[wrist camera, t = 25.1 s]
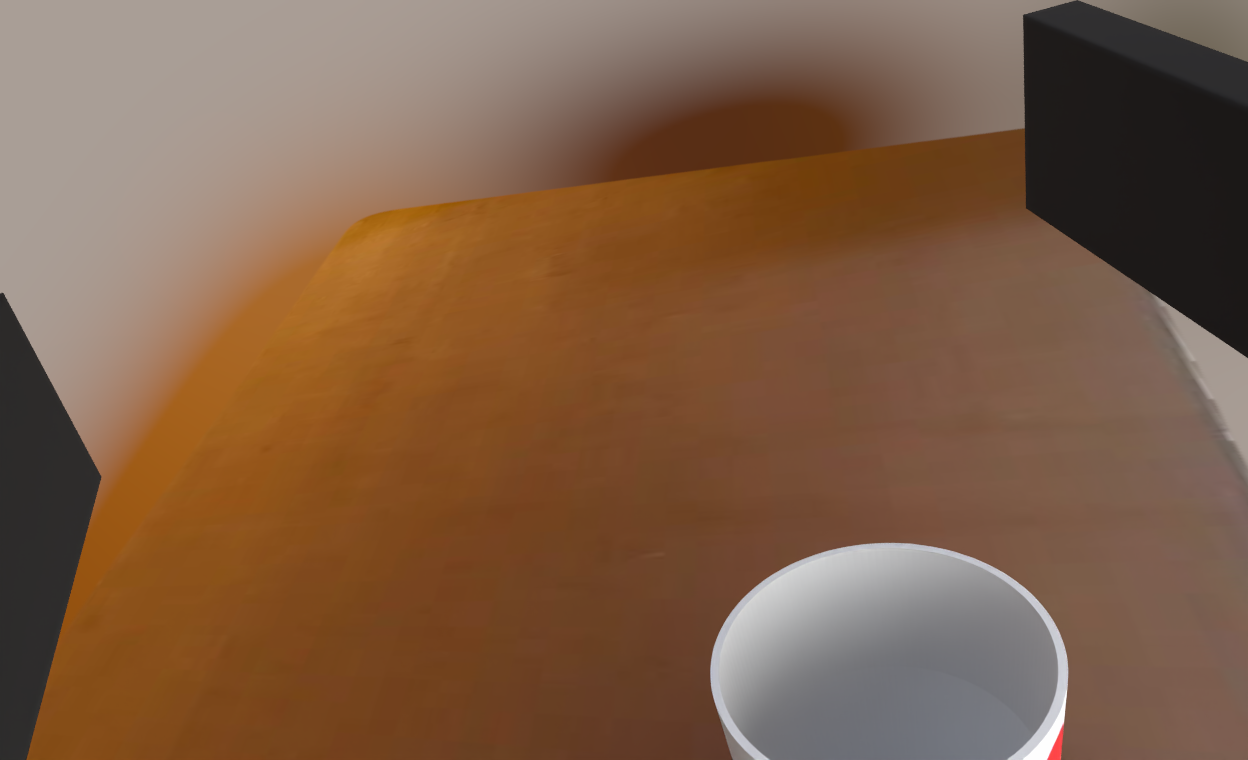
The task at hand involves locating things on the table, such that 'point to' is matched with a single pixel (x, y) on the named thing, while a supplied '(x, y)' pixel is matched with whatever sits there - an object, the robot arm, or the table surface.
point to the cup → (890, 662)
